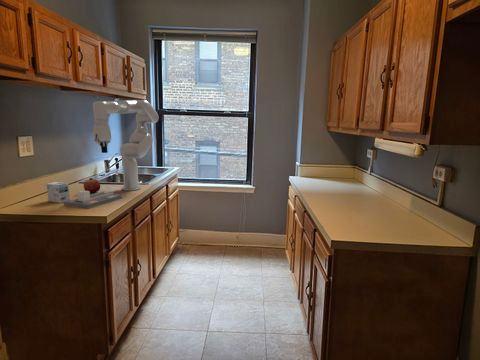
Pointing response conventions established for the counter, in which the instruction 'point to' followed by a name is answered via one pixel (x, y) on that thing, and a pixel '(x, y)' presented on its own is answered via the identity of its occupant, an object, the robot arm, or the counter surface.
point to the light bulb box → (58, 192)
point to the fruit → (92, 185)
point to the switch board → (93, 200)
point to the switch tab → (83, 195)
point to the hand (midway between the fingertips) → (104, 152)
